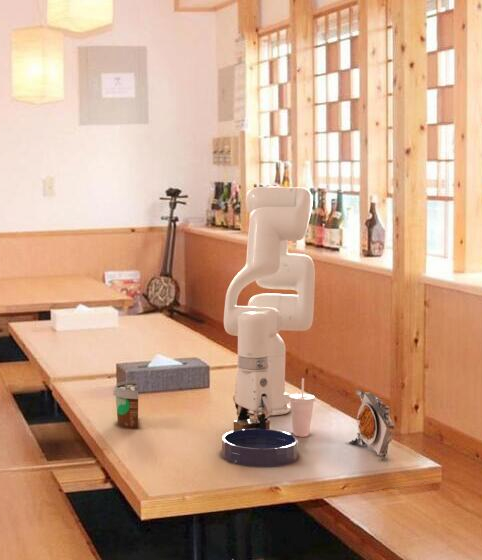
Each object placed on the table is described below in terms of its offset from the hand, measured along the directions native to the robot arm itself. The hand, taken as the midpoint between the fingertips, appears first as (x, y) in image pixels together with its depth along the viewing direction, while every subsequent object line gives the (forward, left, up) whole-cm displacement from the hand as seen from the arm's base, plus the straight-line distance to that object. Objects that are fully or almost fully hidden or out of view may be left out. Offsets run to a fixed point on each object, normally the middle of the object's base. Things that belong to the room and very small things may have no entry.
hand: (251, 434), depth 257 cm
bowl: (+7, +14, -1) cm, 16 cm away
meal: (-18, +23, -1) cm, 29 cm away
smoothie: (-12, +4, -1) cm, 13 cm away
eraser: (0, 0, -1) cm, 1 cm away
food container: (+22, -25, -1) cm, 33 cm away
